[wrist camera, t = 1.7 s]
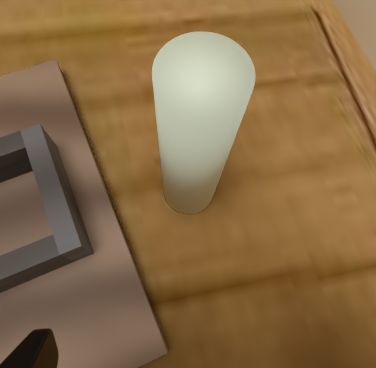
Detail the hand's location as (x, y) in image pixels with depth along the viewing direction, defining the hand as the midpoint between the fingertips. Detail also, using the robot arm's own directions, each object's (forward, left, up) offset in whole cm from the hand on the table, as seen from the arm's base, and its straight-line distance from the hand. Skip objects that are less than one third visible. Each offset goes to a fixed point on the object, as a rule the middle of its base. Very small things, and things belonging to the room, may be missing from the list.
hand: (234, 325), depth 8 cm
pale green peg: (+6, +6, -14) cm, 16 cm away
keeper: (-4, +12, -14) cm, 19 cm away
